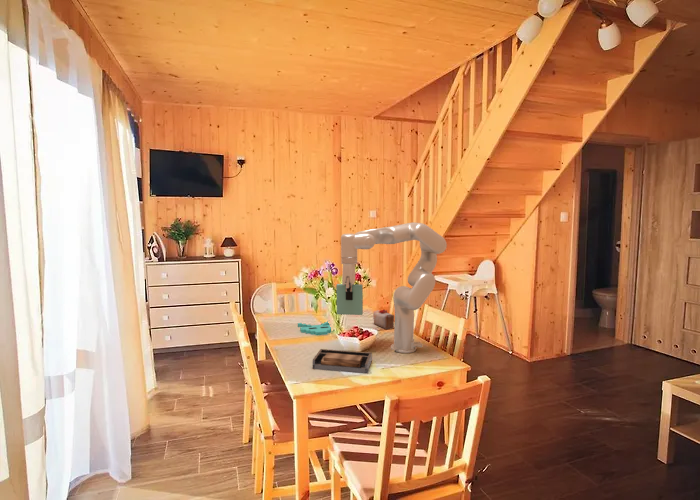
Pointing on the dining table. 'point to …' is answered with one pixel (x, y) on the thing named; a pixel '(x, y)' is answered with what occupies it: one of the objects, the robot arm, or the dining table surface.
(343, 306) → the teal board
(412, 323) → the robot arm
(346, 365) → the middle offcut
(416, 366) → the dining table surface
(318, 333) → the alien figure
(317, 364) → the dark grey tray
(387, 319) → the food item
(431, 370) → the dining table surface
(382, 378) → the dining table surface
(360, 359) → the top offcut
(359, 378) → the dining table surface
